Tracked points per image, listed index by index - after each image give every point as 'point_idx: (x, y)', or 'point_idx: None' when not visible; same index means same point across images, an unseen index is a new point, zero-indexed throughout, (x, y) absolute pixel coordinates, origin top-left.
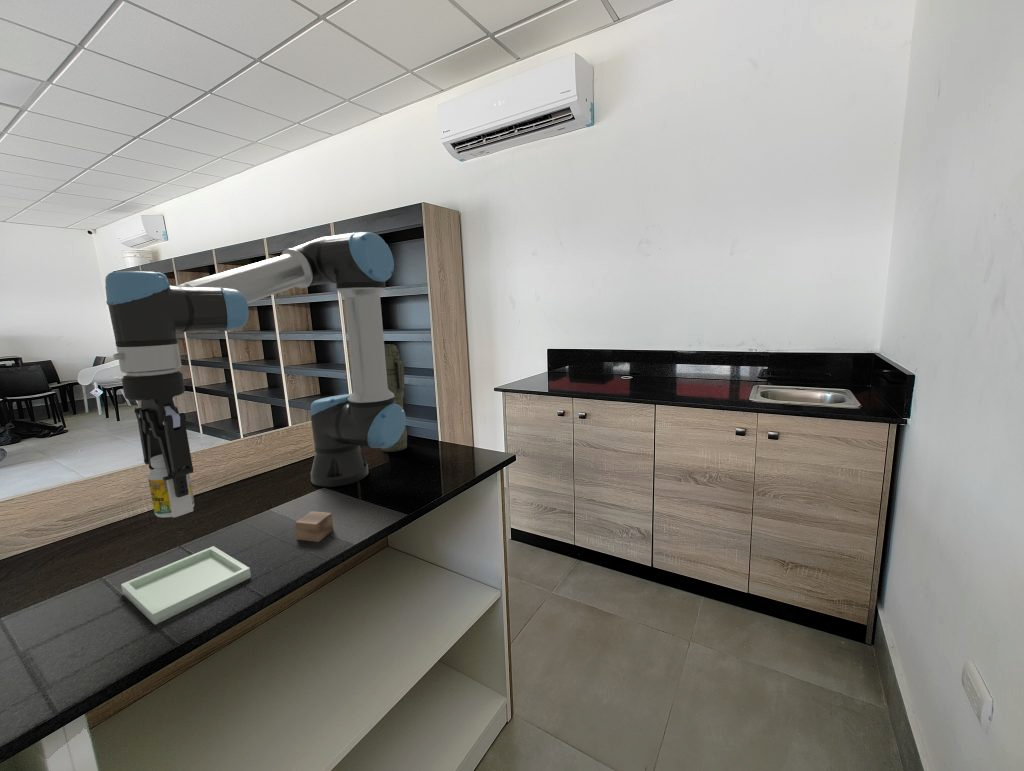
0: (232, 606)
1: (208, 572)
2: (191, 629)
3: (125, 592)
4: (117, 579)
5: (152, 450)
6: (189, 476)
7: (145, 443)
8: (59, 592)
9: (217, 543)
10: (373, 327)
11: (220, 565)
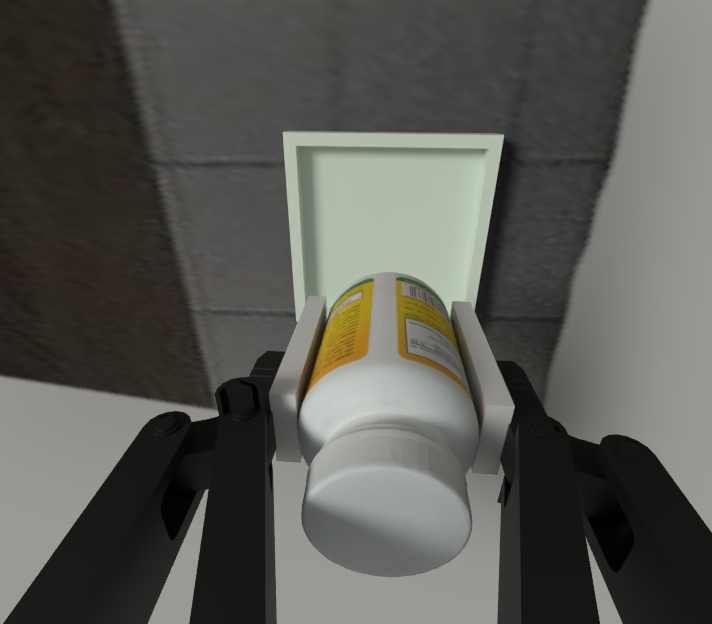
0: (561, 218)
1: (386, 190)
2: (546, 291)
3: None
4: (227, 298)
5: (274, 580)
6: (438, 352)
7: (147, 613)
8: (197, 361)
9: (223, 91)
10: None
11: (379, 157)
